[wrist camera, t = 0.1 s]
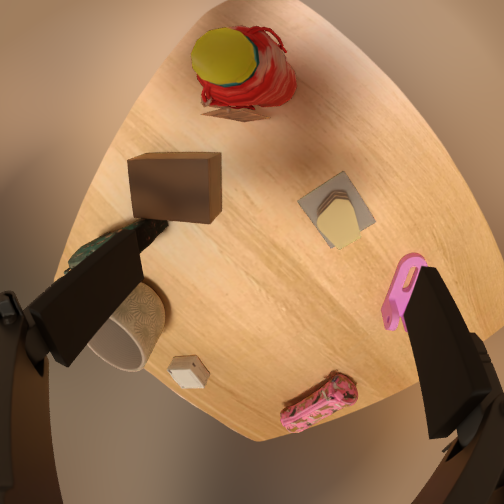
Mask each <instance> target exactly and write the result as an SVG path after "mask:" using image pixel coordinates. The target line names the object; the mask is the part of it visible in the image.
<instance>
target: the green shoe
mask: <svg viewBox="0 0 504 504" xmlns="http://www.w3.org/2000/svg"><path fill="white" fill-rule="evenodd" d="M167 227H168V223H167V220H158V219H146V218H141V219H139V220H138V221H136V222H134V223H133V224H131V225H128V226H126V227H124V228H122V229H120V230H117V231H115V232H113V233H111V232H109V233H106V234H104V235H102V236H100V237H98V238H97V239H95V240H93V241H91V242H89V243H87V244H85V245H83V246H82V247H81V248H79V249H78V250H77V251H76V252H75V253H74V254H73V256H72V257H71V258H70V259H69V261H68V264H69V267H70V268H68V269H67V270H65V271H64V274H67V273H68V272H69V270H70V269H71V270H72V269H73V268H74V267H75V266H76V265H78V264H79V263H80V262H81V261H83V260H84V259H85V258H86V257H87V256H89V255H90V254H91V253H93V252H94V251H95V250H96V249H98V248H99V247H100V246H101V245H103V244H104V243H105V242H107V241H108V240H109V239H111V238H112V237H113V236H115V235H116V234H117V233H119V232H120V231H121V230H123V229H129V230H136V236H137V242H138V248H139V254H140V253H141V252H142V251H143V250H144V249H145V248H147V247H148V246H149V245H150V244H151V243H152V242H153V241H154V239H155V238H156V237H157V236H158V235H159V234H160V233H162V232H163V231H164V230H165V229H166V228H167Z"/></svg>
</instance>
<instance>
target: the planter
mask: <svg viewBox="0 0 504 504" xmlns="http://www.w3.org/2000/svg"><path fill="white" fill-rule="evenodd" d="M164 324H165V310H164V306H163V304H162V301H161V299H160V298H159V296H158V295H157V294H156V293H155V291H154V290H153V289H151V288H150V287H149V286H147V285H146V284H144V283H142V282H140V283H139V284H138V286H137V287H136V288H135V289H134V290H133V291H132V292H131V293H130V295H129V296H128V297H127V298H126V299H125V300H124V301H123V302H122V304H121V305H120V306H119V307H118V308H117V309H116V310H115V312H114V313H113V314H112V315H111V316H110V317H109V319H108V320H107V321H106V322H105V323H104V324H103V326H102V327H101V328H100V329H99V330H98V332H97V333H96V334H95V335H94V336H93V338H92V339H91V340H90V341H89V342H88V344H87V345H88V346H89V347H90V348H91V349H92V350H93V351H94V352H95V353H96V354H97V355H98V356H99V357H100V358H101V359H103V360H104V361H105V362H107V363H109V364H110V365H112V366H114V367H116V368H118V369H121V370H124V371H129V372H136V371H139V370H141V369H143V368H144V366H145V364H146V362H147V360H148V358H149V356H150V354H151V353H152V351H153V349H154V347H155V345H156V343H157V341H158V339H159V337H160V335H161V333H162V331H163V328H164Z"/></svg>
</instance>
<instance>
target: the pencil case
mask: <svg viewBox="0 0 504 504" xmlns="http://www.w3.org/2000/svg"><path fill="white" fill-rule="evenodd" d="M357 399H358V391H357V388H356V386H355V385H354V384H353V383H352V382H351V381H350V380H349V379H348V378H347V377H346V376H344V375H335V376H334V377H333V378H332V379H331V380H330V381H329V382H327V383H326V384H325V385H324V386H323V387H322V388H320V389H319V390H318V391H316V392H314V393H313V394H311V395H310V396H309V397H307V398H305V399H303V400H302V401H300V402H298V403H297V404H295V405H293V406H288V407H286V408H284V409H283V410H282V411H281V413H280V417H281V419H280V421H281V423H282V425H283V426H284V427H286V429H287V430H288V431H289V432H292V433H299V432H302V431H303V430H305V429H307V428H308V427H310V426H311V425H313V424H315V423H317V422H318V421H320V420H322V419H323V418H325V417H327V416H329V415H331V414H332V413H334V412H336V411H338V410H340V409H342V408H344V407H347V406H352V405H353V404H354V403H355V402H356V401H357Z"/></svg>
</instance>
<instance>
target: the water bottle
mask: <svg viewBox="0 0 504 504" xmlns="http://www.w3.org/2000/svg"><path fill="white" fill-rule="evenodd" d="M265 31H268V32H270V33H271V34H272V35H273V36H274V37H275V38H276V39H277V40H278V42H279V44H280V45H279V44H277V43H276V42H275V41H273V40H272V39H271V38H270V36H269V35H268V34H267V33H266V32H265ZM283 46H284V45H283V43H282V41H281V39H280V37H279V36H278V35H277V34H276V33H275V32H274V31H273V30H272V29H271V28H267V27H259V26H254V27H251V28H249V27H246V26H242V25H240V26H235V27H229V28H226V27H224V28H219V29H214V30H210V31H208V32H207V33H206V34H204V35H203V36H202V37H200V38H199V39H198V40H197V41H196V43H195V46H194V48H193V50H192V52H191V60H192V68H193V69H194V71H195V72H196V73H197V80H198V81H199V82H200V83H201V85H202V86H203V87H204V88H203V90H202V94H201V96H202V97H201V103H202V105H203V107H206V106H210V107H215V108H221V109H219V110H215V111H211V112H207V113H203V114H201V115H207V116H213V117H219V118H225V119H230V120H236V121H241V122H247V121H254V120H261V119H268V118H269V117H266V116H262V115H258V114H254V113H250V112H246V111H242V110H237V109H241V108H247V109H251V110H256V109H255V107H254V106H252V105H258V106H261V107H273V106H281V105H282V104H284V103H285V102H287V101H288V100H290V99H291V98H292V96H293V94H294V92H295V90H296V88H297V83H296V75H295V71H294V70H293V69H292V68H291V66H290V65H289V64H288V63H287V61H286V56H285V55H284V53H283V52H282V51H281V50H283V51H284V52H285V53H287V51H286V49H285V48H284V47H283ZM205 92H206V96H205ZM207 99H208V100H207ZM229 105H230V106H229ZM232 106H236V107H232Z"/></svg>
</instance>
